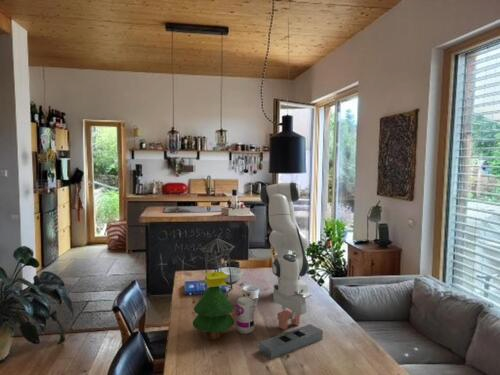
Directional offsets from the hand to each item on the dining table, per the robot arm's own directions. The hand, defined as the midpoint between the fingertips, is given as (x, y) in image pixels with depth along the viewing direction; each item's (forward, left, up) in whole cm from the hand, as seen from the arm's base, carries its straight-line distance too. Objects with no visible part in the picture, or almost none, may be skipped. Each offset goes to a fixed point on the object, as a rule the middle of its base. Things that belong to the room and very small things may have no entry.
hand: (289, 316), depth 179 cm
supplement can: (+20, -9, -5) cm, 22 cm away
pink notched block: (0, 0, -4) cm, 4 cm away
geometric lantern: (+10, -52, -5) cm, 53 cm away
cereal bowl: (-11, -72, -5) cm, 73 cm away
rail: (+11, +14, -5) cm, 18 cm away
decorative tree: (+35, -13, -5) cm, 37 cm away
